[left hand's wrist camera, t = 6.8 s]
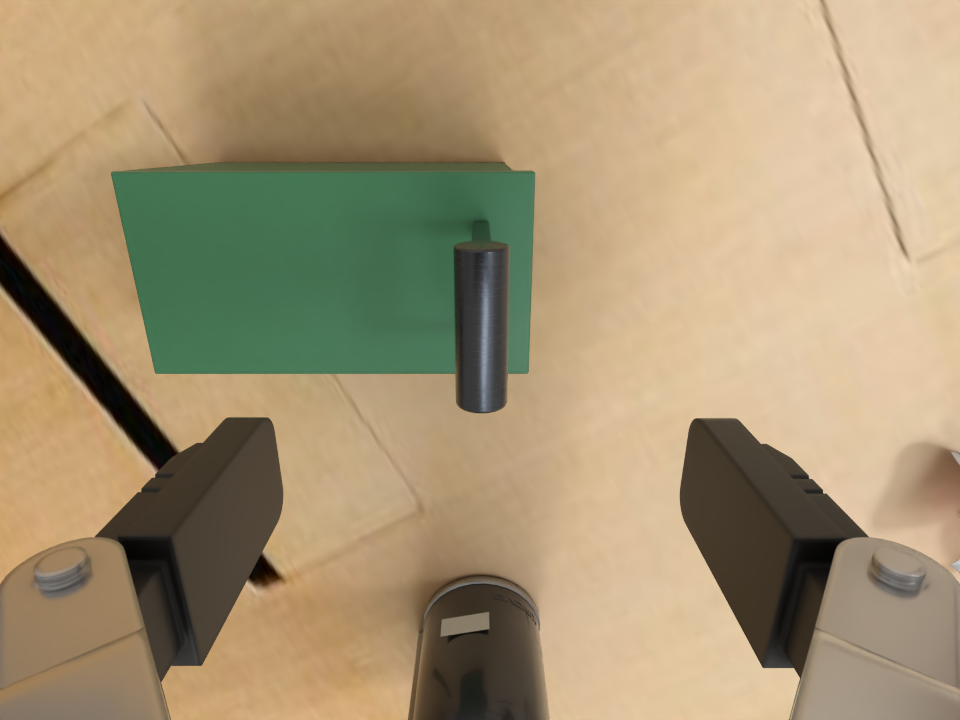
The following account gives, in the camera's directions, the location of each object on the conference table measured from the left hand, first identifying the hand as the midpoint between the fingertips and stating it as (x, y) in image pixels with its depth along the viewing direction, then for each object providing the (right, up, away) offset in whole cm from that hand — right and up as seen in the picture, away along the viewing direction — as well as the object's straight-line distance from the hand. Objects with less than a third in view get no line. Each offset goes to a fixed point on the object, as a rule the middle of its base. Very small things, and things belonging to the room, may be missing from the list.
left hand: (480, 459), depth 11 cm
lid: (-7, +6, +15) cm, 18 cm away
